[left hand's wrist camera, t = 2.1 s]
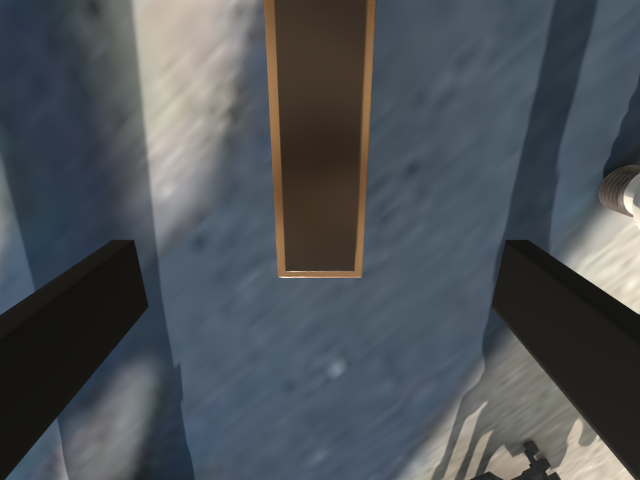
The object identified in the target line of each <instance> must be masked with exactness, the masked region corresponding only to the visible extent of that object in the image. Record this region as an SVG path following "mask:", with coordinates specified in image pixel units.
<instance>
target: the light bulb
mask: <svg viewBox="0 0 640 480" xmlns="http://www.w3.org/2000/svg"><path fill="white" fill-rule="evenodd" d="M599 199H600V201H601V203H602V204H603V205H604V206H605V207H607V208H609V209H611V210H614V211H616V212H619V213H622V214H624V215H627V216H630V217H634V220H635V222H636V225H637V226H638V227H639V229H640V166H639V165H627V166H623V167H620V168H618V169H616V170H614V171H613V172H611V173H610V174H609V175H608V176H607V177H606V178H605V179H604V180H603V182H602V184H601V186H600V188H599Z"/></svg>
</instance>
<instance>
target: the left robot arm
mask: <svg viewBox="0 0 640 480" xmlns="http://www.w3.org/2000/svg"><path fill="white" fill-rule="evenodd" d="M147 308H148V302H147V298H146V293H145V289H144V284H143V279H142V275H141V270H140V265H139V261H138V256H137V252H136V247H135V242H134V240H112V241H110V242H109V243H107V244H106V245H104V246H103V247H101V248H100V249H98V250H97V251H95V252H94V253H92V254H91V255H89V256H88V257H86V258H85V259H83V260H82V261H80V262H79V263H77V264H76V265H74V266H73V267H71V268H70V269H68V270H67V271H65V272H64V273H62V274H61V275H59V276H58V277H56V278H55V279H53V280H52V281H51V282H49V283H48V284H46V285H45V286H43V287H42V288H40V289H39V290H37V291H36V292H34V293H33V294H31V295H30V296H28V297H27V298H25V299H24V300H22V301H21V302H19V303H18V304H16V305H15V306H13V307H12V308H10V309H9V310H7V311H6V312H4V313H3V314H1V315H0V480H5V479H6V478H7V476H8V475H9V474H10V473H11V472H12V470H13V469H14V468H15V467H16V466H17V464H18V463H19V462H20V461H21V460H22V458H23V457H24V456H25V455H26V454H27V452H28V451H29V450H30V449H31V448H32V446H33V445H34V444H35V443H36V442H37V440H38V439H39V438H40V437H41V436H42V434H43V433H44V432H45V431H46V429H47V428H48V427H49V426H50V425H51V423H52V422H53V421H54V420H55V419H56V417H57V416H58V415H59V414H60V413H61V411H62V410H63V409H64V408H65V407H66V405H67V404H68V403H69V402H70V401H71V399H72V398H73V397H74V396H75V395H76V393H77V392H78V391H79V390H80V389H81V387H82V386H83V385H84V384H85V383H86V381H87V380H88V379H89V378H90V377H91V375H92V374H93V373H94V372H95V371H96V369H97V368H98V367H99V366H100V365H101V363H102V362H103V361H104V360H105V359H106V357H107V356H108V355H109V354H110V353H111V351H112V350H113V349H114V348H115V347H116V345H117V344H118V343H119V342H120V340H121V339H122V338H123V337H124V336H125V334H126V333H127V332H128V331H129V330H130V328H131V327H132V326H133V325H134V324H135V322H136V321H137V320H138V319H139V318H140V316H141V315H142V314H143V313H144V312H145V310H146V309H147ZM492 308H493V309H494V310H495V312H496V313H497V314H498V315H499V316H500V318H501V319H502V320H503V321H504V322H505V324H506V325H507V326H508V327H509V328H510V330H511V331H512V332H513V333H514V334H515V336H516V337H517V338H518V339H519V340H520V342H521V343H522V344H523V345H524V347H525V348H526V349H527V350H528V351H529V353H530V354H531V355H532V356H533V357H534V359H535V360H536V361H537V362H538V363H539V365H540V366H541V367H542V368H543V369H544V371H545V372H546V373H547V374H548V375H549V377H550V378H551V379H552V380H553V381H554V383H555V384H556V385H557V386H558V387H559V389H560V390H561V391H562V392H563V393H564V395H565V396H566V397H567V398H568V399H569V401H570V402H571V403H572V404H573V405H574V407H575V408H576V409H577V410H578V411H579V413H580V414H581V415H582V416H583V417H584V419H585V420H586V421H587V422H588V423H589V425H590V426H591V427H592V428H593V429H594V431H595V432H596V433H597V434H598V436H599V437H600V438H601V439H602V440H603V442H604V443H605V444H606V445H607V446H608V448H609V449H610V450H611V451H612V452H613V454H614V455H615V456H616V457H617V458H618V460H619V461H620V462H621V463H622V464H623V466H624V467H625V468H626V469H627V470H628V472H629V473H630V474H631V475H632V476H633V478H634V479H635V480H640V315H639V314H637V313H636V312H634V311H633V310H631V309H630V308H628V307H627V306H625V305H624V304H622V303H621V302H619V301H618V300H616V299H615V298H613V297H612V296H610V295H609V294H607V293H606V292H604V291H603V290H601V289H600V288H598V287H597V286H595V285H594V284H592V283H591V282H589V281H588V280H587V279H585V278H584V277H582V276H581V275H579V274H578V273H576V272H575V271H573V270H572V269H570V268H569V267H567V266H566V265H564V264H563V263H561V262H560V261H558V260H557V259H555V258H554V257H552V256H551V255H549V254H548V253H546V252H545V251H543V250H542V249H540V248H539V247H537V246H536V245H534V244H533V243H531V242H530V241H528V240H506V242H505V247H504V252H503V256H502V261H501V265H500V270H499V275H498V279H497V284H496V289H495V293H494V298H493V302H492Z"/></svg>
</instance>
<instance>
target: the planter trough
mask: <svg viewBox="0 0 640 480" xmlns="http://www.w3.org/2000/svg"><path fill="white" fill-rule="evenodd" d="M264 11H265V30H266V50H267V70H268V89H269V109H270V128H271V148H272V168H273V187H274V207H275V227H276V246H277V266H278V277H362V266H363V247H364V227H365V207H366V188H367V168H368V148H369V129H370V109H371V90H372V70H373V50H374V31H375V11H376V0H264Z"/></svg>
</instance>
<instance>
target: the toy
mask: <svg viewBox="0 0 640 480" xmlns="http://www.w3.org/2000/svg"><path fill="white" fill-rule="evenodd" d="M524 447H525V448H526V450H525V451H524V452H525V454H526V456H527V457H528V459H529V461H530V463H531V464H529V466H530V467H531V468H529V469H527V470H525V471H523V473H522V475H520V476H518V477H516V478H514V479H511V480H561V479H560V477H559V476H558V474H557V473H556V472H554V473H553V474H551V475H549V476H548V475H547V474H546V472H545V471H546V470H547V469H549V468H550V466H551V465H550V464H549V462H548V461H547V459H546V458H545V459H543V460H540V461H538V462H536V460H535V458H534V455H535V454H536V453H537V452H538V451H539V449H538V447H537V446H536V444H535V443H534V442H533V441H532V442H530V443H528V444H525V445H524ZM470 480H503V479H501V478H499V477H497V476H495V475H494V474H492V473H491V472H490V471H489V472H487V473H484V474H482V475H480V476H477V477H475V478H473V479H470Z"/></svg>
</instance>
